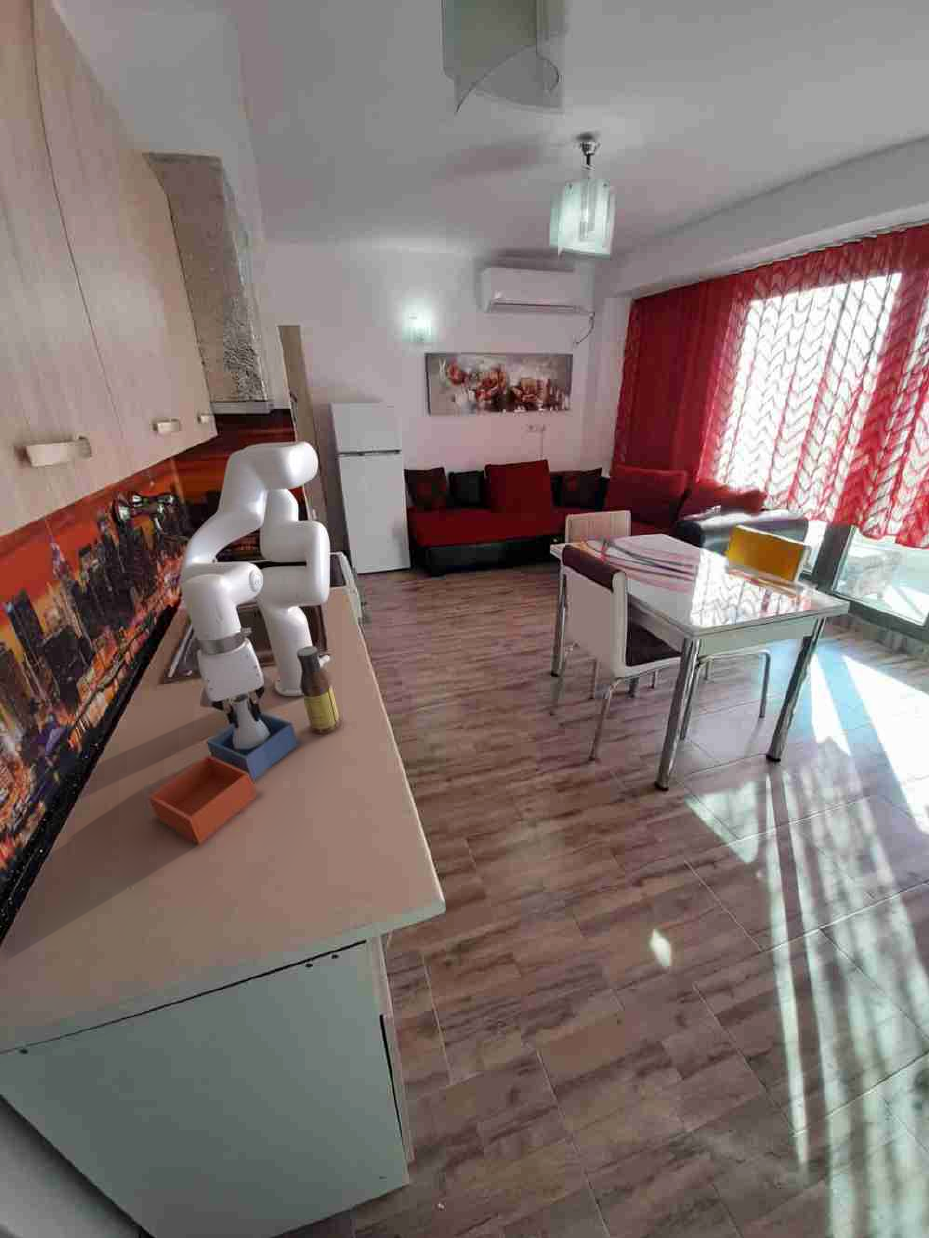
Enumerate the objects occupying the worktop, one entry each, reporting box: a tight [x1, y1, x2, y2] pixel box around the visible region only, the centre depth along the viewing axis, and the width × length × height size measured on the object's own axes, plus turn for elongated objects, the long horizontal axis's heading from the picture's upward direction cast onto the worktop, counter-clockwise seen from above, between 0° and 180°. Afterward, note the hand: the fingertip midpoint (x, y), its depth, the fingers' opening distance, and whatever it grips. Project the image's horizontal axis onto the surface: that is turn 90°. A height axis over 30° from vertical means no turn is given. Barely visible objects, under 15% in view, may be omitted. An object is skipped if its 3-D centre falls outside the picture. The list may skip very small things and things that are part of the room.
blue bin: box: [206, 711, 299, 782], centre depth 98 cm, size 12×12×6 cm
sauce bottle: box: [297, 645, 340, 734], centre depth 102 cm, size 6×6×20 cm
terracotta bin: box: [147, 754, 257, 845], centre depth 85 cm, size 12×12×6 cm
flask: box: [230, 693, 270, 749], centre depth 95 cm, size 7×7×10 cm
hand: (246, 720), depth 95 cm, fingers closed on flask, 3 cm apart
